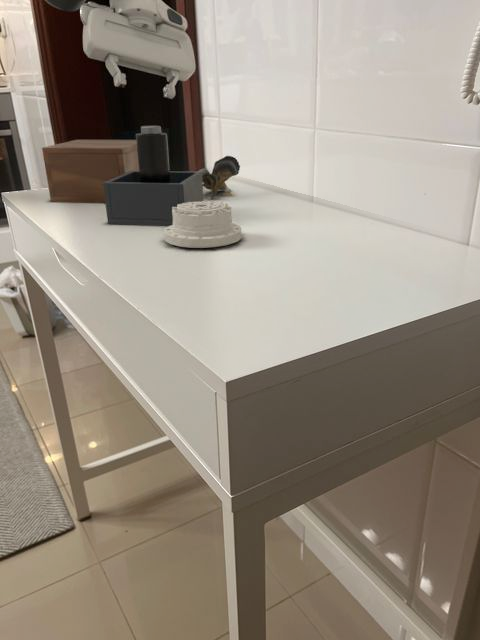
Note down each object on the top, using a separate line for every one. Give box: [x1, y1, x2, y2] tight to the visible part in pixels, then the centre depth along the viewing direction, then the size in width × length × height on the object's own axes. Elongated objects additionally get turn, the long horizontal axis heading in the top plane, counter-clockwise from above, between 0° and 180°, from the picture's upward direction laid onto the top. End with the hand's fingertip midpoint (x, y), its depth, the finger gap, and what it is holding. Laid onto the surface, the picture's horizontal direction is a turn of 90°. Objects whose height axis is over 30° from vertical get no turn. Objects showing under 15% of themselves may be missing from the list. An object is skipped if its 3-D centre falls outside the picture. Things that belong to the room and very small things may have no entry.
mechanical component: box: [163, 200, 242, 249], centre depth 72 cm, size 10×4×10 cm
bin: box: [103, 170, 204, 227], centre depth 84 cm, size 12×12×6 cm
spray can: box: [135, 125, 171, 183], centre depth 82 cm, size 4×4×12 cm
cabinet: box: [41, 139, 139, 204], centre depth 99 cm, size 14×14×9 cm
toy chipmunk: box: [197, 155, 241, 200], centre depth 99 cm, size 8×7×9 cm
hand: (146, 91), depth 98 cm, fingers open, 8 cm apart
